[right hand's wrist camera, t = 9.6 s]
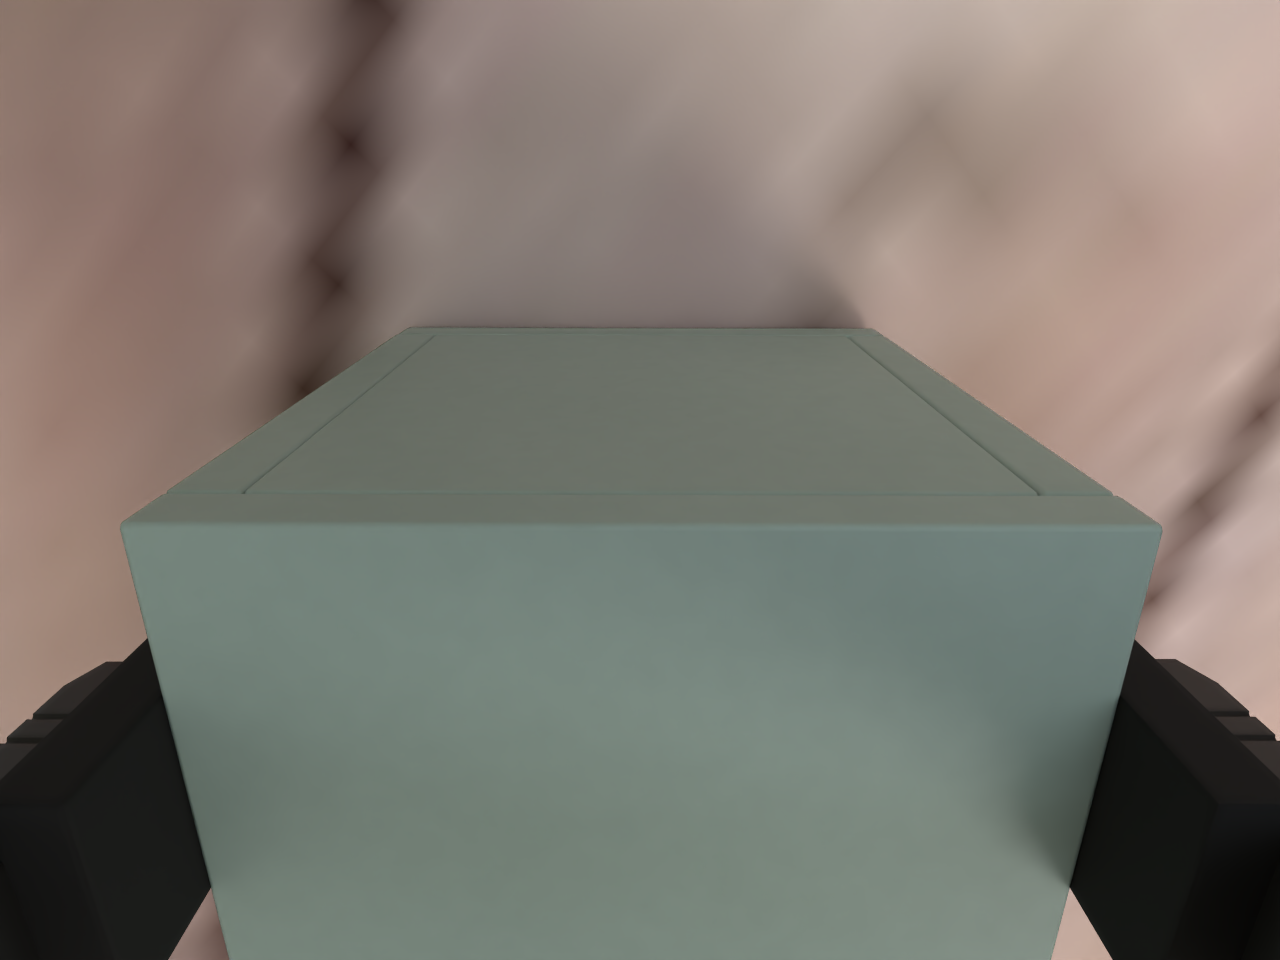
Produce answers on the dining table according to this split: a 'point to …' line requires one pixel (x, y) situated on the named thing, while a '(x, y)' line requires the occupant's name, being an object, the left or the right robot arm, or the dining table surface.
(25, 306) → the dining table surface
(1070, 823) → the grey-green rectangular block
